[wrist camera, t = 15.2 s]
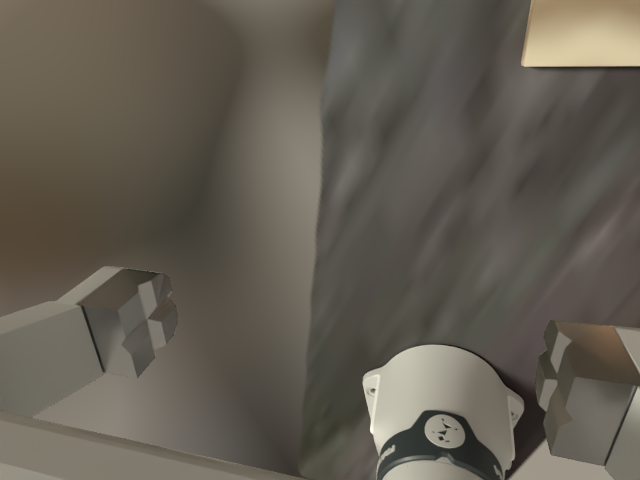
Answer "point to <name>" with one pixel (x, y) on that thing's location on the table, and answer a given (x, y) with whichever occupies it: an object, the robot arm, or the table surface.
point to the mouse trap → (583, 33)
